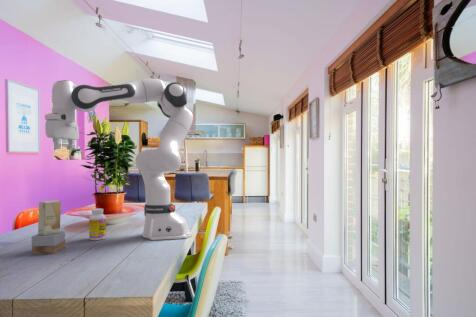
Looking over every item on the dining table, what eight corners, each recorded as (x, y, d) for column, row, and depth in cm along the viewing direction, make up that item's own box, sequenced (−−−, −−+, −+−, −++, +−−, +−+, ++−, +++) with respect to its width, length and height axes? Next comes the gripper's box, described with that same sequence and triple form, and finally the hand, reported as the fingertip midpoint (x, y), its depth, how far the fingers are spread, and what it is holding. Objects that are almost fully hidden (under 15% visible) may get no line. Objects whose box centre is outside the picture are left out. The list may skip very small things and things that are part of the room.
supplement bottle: (99, 241, 135) (99, 210, 135) (85, 240, 137) (85, 210, 137) (109, 237, 142) (108, 208, 142) (95, 236, 143) (95, 207, 143)
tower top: (64, 240, 126) (64, 231, 126) (54, 245, 118) (54, 236, 118) (43, 240, 125) (43, 231, 125) (31, 246, 117) (31, 236, 117)
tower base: (65, 248, 126) (65, 239, 126) (54, 255, 118) (54, 245, 118) (44, 249, 126) (44, 240, 126) (32, 255, 118) (32, 245, 118)
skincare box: (44, 235, 118) (44, 202, 118) (37, 234, 120) (37, 201, 120) (61, 232, 124) (61, 200, 124) (54, 231, 126) (54, 199, 126)
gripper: (69, 120, 151) (69, 150, 151) (42, 114, 130) (42, 148, 130) (82, 120, 151) (82, 149, 151) (57, 114, 130) (57, 148, 130)
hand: (63, 149), depth 140 cm, fingers open, 8 cm apart
